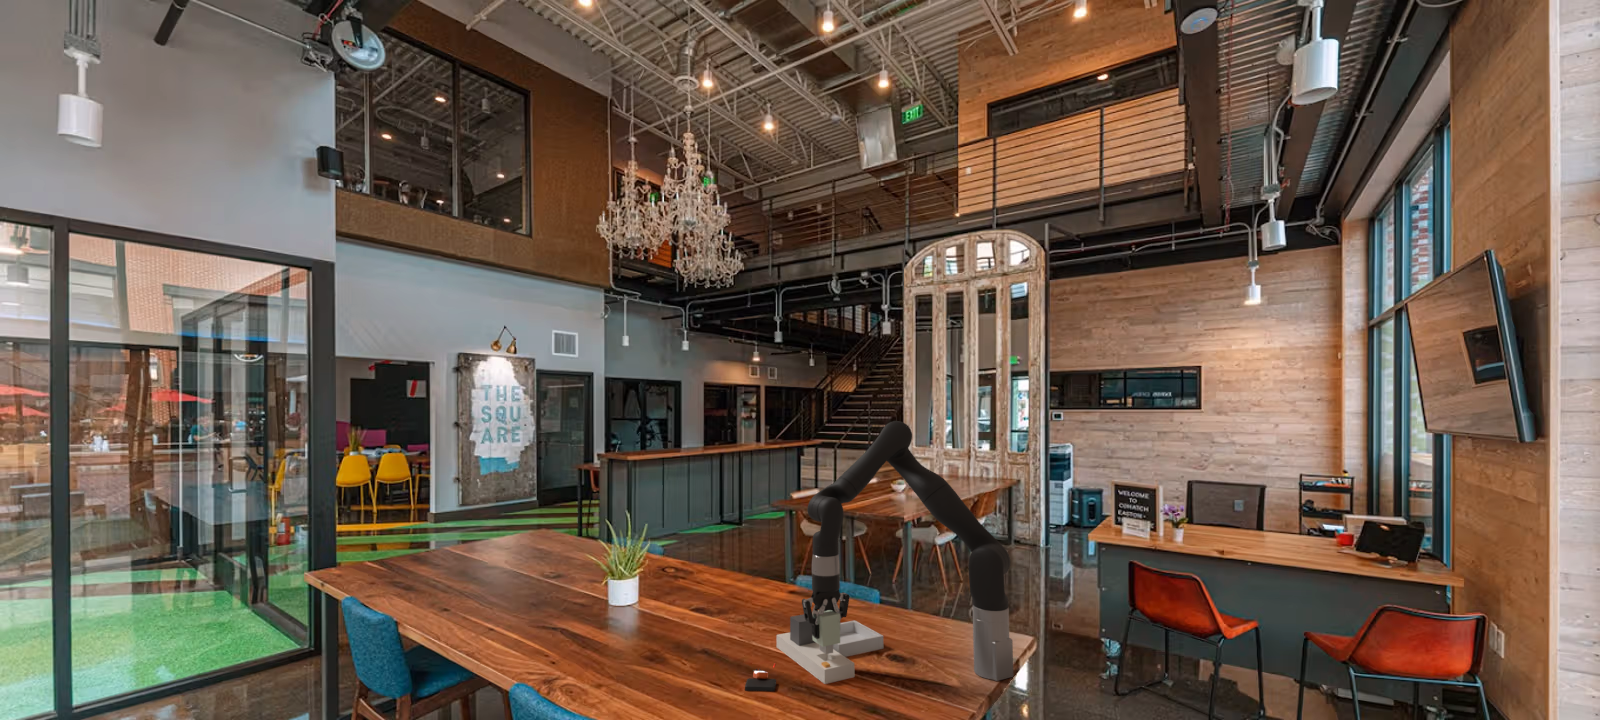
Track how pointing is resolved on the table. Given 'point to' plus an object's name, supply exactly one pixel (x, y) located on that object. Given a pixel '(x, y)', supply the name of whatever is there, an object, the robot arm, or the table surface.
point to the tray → (857, 639)
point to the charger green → (828, 631)
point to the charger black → (800, 630)
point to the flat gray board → (817, 660)
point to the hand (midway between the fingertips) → (826, 635)
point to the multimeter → (760, 682)
